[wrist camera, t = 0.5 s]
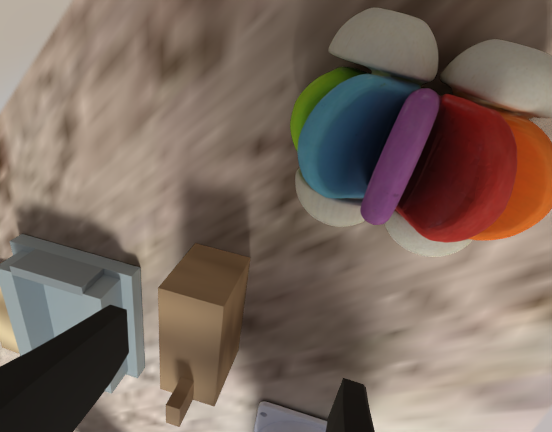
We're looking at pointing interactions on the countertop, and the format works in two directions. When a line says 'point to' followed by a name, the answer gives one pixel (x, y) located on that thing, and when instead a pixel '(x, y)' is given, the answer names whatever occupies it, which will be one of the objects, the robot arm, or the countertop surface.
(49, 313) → the jig
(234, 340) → the tan pegged block
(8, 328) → the plank
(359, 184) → the rainbow segmented toy
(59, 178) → the countertop surface
